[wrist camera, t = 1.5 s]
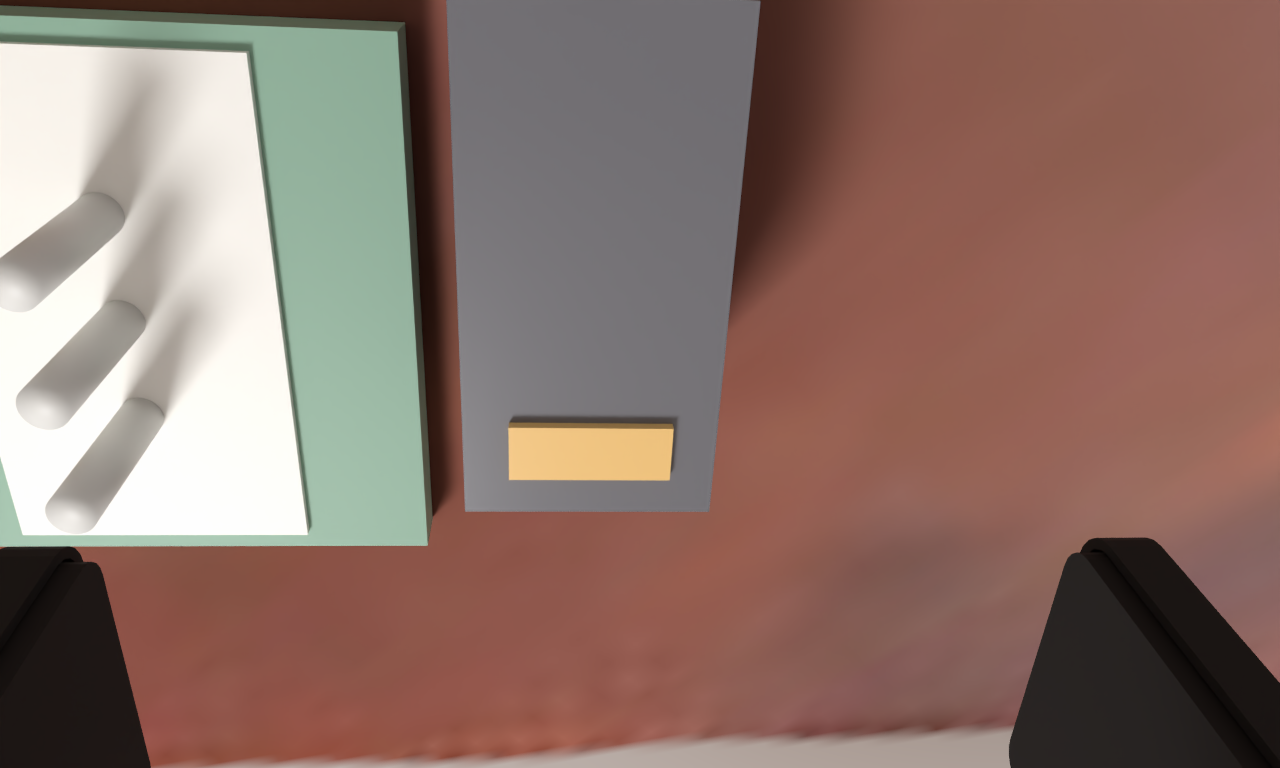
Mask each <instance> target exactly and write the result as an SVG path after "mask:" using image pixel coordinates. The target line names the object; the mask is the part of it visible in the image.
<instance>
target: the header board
mask: <svg viewBox="0 0 1280 768" xmlns="http://www.w3.org/2000/svg"><path fill="white" fill-rule="evenodd" d="M432 519H433V517H432V499H431V481H430V462H429V444H428V426H427V408H426V390H425V372H424V354H423V336H422V318H421V300H420V282H419V264H418V246H417V228H416V210H415V192H414V173H413V155H412V137H411V119H410V101H409V83H408V65H407V47H406V29H405V22H387V21H363V20H339V19H315V18H291V17H267V16H243V15H219V14H195V13H171V12H147V11H123V10H99V9H75V8H51V7H27V6H3V5H0V546H428V541H429V536H430V530H431V525H432Z"/></svg>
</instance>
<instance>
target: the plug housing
mask: <svg viewBox="0 0 1280 768" xmlns="http://www.w3.org/2000/svg"><path fill="white" fill-rule="evenodd" d="M446 1H447V28H448V55H449V82H450V110H451V137H452V164H453V191H454V219H455V246H456V273H457V300H458V328H459V355H460V382H461V409H462V437H463V464H464V491H465V511H596V512H709V507H710V497H711V487H712V477H713V468H714V458H715V448H716V438H717V428H718V418H719V408H720V398H721V388H722V378H723V369H724V359H725V349H726V339H727V329H728V319H729V309H730V299H731V289H732V279H733V270H734V260H735V250H736V240H737V230H738V220H739V210H740V200H741V190H742V180H743V171H744V161H745V151H746V141H747V131H748V121H749V111H750V101H751V91H752V81H753V72H754V62H755V52H756V42H757V32H758V22H759V12H760V2H761V1H760V0H446Z"/></svg>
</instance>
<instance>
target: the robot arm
mask: <svg viewBox="0 0 1280 768" xmlns="http://www.w3.org/2000/svg"><path fill="white" fill-rule="evenodd" d="M1009 759H1010V765H1011V768H1280V683H1279V682H1278V681H1277V679H1276V678H1275V677H1274V676H1273V675H1272V674H1271V672H1270V671H1269V670H1268V669H1267V668H1266V667H1265V666H1264V664H1263V663H1262V662H1261V661H1260V660H1259V659H1258V657H1257V656H1256V655H1255V654H1254V653H1253V652H1252V651H1251V649H1250V648H1249V647H1248V646H1247V645H1246V644H1245V642H1244V641H1243V640H1242V639H1241V638H1240V637H1239V635H1238V634H1237V633H1236V632H1235V631H1234V630H1233V629H1232V627H1231V626H1230V625H1229V624H1228V623H1227V622H1226V620H1225V619H1224V618H1223V617H1222V616H1221V615H1220V614H1219V612H1218V611H1217V610H1216V609H1215V608H1214V607H1213V605H1212V604H1211V603H1210V602H1209V601H1208V600H1207V599H1206V597H1205V596H1204V595H1203V594H1202V593H1201V592H1200V590H1199V589H1198V588H1197V587H1196V586H1195V585H1194V583H1193V582H1192V581H1191V580H1190V579H1189V578H1188V577H1187V575H1186V574H1185V573H1184V572H1183V571H1182V570H1181V568H1180V567H1179V566H1178V565H1177V564H1176V563H1175V562H1174V560H1173V559H1172V558H1171V557H1170V556H1169V555H1168V553H1167V552H1166V551H1165V550H1164V549H1163V548H1162V546H1160V545H1159V544H1158V543H1157V542H1156V541H1154V540H1152V539H1149V538H1094V539H1091V540H1089V541H1088V542H1087V543H1086V544H1085V545H1084V546H1083V548H1082V550H1081V552H1080V553H1074V554H1071V555H1070V556H1069V557H1068V559H1067V561H1066V563H1065V566H1064V569H1063V572H1062V575H1061V579H1060V582H1059V585H1058V588H1057V591H1056V595H1055V598H1054V601H1053V604H1052V607H1051V611H1050V614H1049V617H1048V620H1047V623H1046V627H1045V630H1044V633H1043V636H1042V640H1041V643H1040V646H1039V649H1038V652H1037V656H1036V659H1035V662H1034V665H1033V668H1032V672H1031V675H1030V678H1029V681H1028V684H1027V688H1026V691H1025V694H1024V697H1023V700H1022V704H1021V707H1020V710H1019V713H1018V716H1017V720H1016V723H1015V726H1014V729H1013V733H1012V736H1011V739H1010V744H1009ZM0 768H151V766H150V761H149V757H148V753H147V749H146V745H145V741H144V737H143V733H142V729H141V725H140V721H139V717H138V713H137V709H136V705H135V701H134V697H133V693H132V689H131V685H130V681H129V677H128V673H127V669H126V665H125V661H124V657H123V653H122V649H121V645H120V641H119V637H118V633H117V629H116V625H115V621H114V617H113V613H112V609H111V605H110V602H109V598H108V594H107V590H106V586H105V582H104V578H103V574H102V571H101V569H100V567H99V566H98V565H97V563H94V562H83V560H82V557H81V555H80V553H79V552H78V551H77V550H76V549H75V548H73V547H70V546H39V547H5V548H3V549H0Z"/></svg>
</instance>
